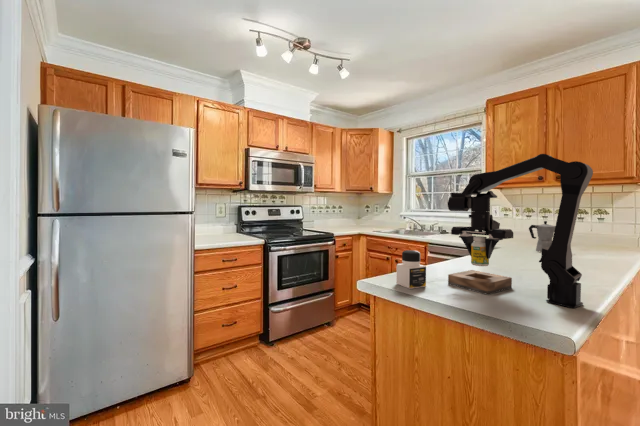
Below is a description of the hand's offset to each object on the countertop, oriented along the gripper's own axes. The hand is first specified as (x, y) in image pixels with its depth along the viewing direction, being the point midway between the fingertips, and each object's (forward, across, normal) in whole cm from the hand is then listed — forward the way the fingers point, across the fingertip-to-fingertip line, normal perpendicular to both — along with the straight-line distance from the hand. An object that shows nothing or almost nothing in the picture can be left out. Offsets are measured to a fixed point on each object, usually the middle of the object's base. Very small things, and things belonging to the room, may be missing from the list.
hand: (480, 257), depth 103 cm
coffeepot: (+10, +25, -108) cm, 111 cm away
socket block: (+10, 0, 0) cm, 10 cm away
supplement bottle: (+3, 0, 0) cm, 3 cm away
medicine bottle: (+10, +13, +19) cm, 25 cm away
